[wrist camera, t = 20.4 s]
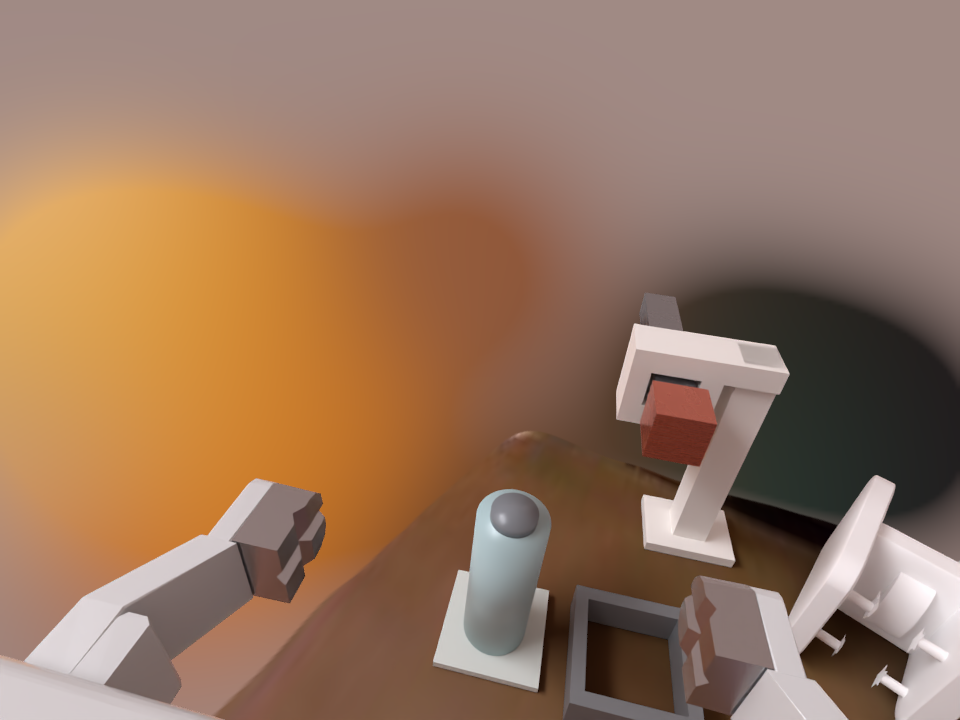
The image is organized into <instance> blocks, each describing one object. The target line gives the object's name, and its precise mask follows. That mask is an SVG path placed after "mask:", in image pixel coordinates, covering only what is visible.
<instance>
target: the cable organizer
mask: <svg viewBox="0 0 960 720" xmlns="http://www.w3.org/2000/svg"><path fill="white" fill-rule="evenodd" d="M894 491H895V484H894V483H892V482H890V481H888V480H886V479H884V478H881V477H879V476H877V475H876V476H874V477H873V478H872V479H871V480H870V481H869V482H868V483H867V485H866V486H865V488H864V489H863V490H862V492H861V493H860V495H859V496H858V497H857V499H856V500H855V502H854V503H853V505H852V506H851V508H850V509H849V511H848V512H847V513H846V515H845V516H844V518H843V519H842V521H841V522H840V523H839V525H838V526H837V528H836V529H835V531H834V532H833V534H832V535H831V536H830V538H829V539H828V541H827V542H826V544H825V545H824V547H823V549H822V550H821V552H820V554H819V556H818V558H817V560H816V562H815V564H814V566H813V568H812V570H811V572H810V575H809V577H808V579H807V581H806V583H805V585H804V587H803V589H802V591H801V593H800V595H799V597H798V599H797V601H796V603H795V605H794V607H793V609H792V611H791V613H790V615H789V617H788V618H789V621H790V625H791V628H792V631H793V635H794V638H795V641H796V644H797V648H798V651H799V654H800V653H802V652H803V651H804V650H805V648H806V647H807V646H808V645H809V643H810V642H811V641H812V640H813V638H814V637H815V636H816V637H817V638H819V639H820V640H821V641H823V642H824V643H826V644H827V645H829V646H830V647H832V648H833V649H835V651H834V653H833V654H835V653H836V654H837V652H838V651H839V650H840V649H841V647H842V646H843V644H844V642H845V640H844V639H845V636H846V635H845V636H844V638H843V639H842V641H841V642H840V641H839V640H837V639H836V638H834V637H833V636H831V635H830V634H828V633H827V632H825V631H824V630H822V629H821V628H822V627H823V626H824V625H825V623H826V622H827V621H828V620H829V618H830V617H831V616H832V615H833V613H834V612H835V611H836V610H837V609H839V610H841V611H842V612H844V613H845V614H847V615H848V616H850V617H852V618H853V619H855V620H856V621H858V622H860V623H861V624H863V625H864V626H866V627H867V628H869V629H871V630H872V631H874V632H875V633H877V634H878V635H880V636H882V637H883V638H885V639H886V640H888V641H890V642H891V643H893V644H894V645H896V646H897V647H899V648H901V649H902V650H904V651H905V652H907V653H909V657H908V661H907V665H906V669H905V672H904V676H903V680H902V684H901V683H899V682H898V681H896V680H895V679H893V678H892V677H890V676H888V675H887V674H886V673H887V672H888V671H885V669H886V667H887V665H886V666H885V668H884V669H883V670H882V671H881V672H880V673H879V674H877V677H876V679H875V681H874V683H873V685H872V687H873V686H874V685H875V684H877V686H878V684H879V682H880V683H882V684H883V685H885V686H886V687H888V688H889V689H891V690H892V691H894V692H895V693H897V694H898V699H897V703H896V708H895V719H896V720H958V719H959V718H960V561H959V562H956V561H954V560H952V559H950V558H949V557H947V556H945V555H943V553H942V554H941V553H939V552H937V551H935V550H933V549H932V548H930V547H928V546H926V545H924V544H922V543H920V542H918V541H917V540H915V539H913V538H911V537H909V536H907V535H905V534H903V533H901V532H899V531H898V530H896V529H894V528H892V527H890V526H888V525H886V524H884V523H882V522H883V519H884V517H885V514H886V512H887V509H888V507H889V504H890V502H891V499H892V497H893V494H894ZM833 654H832V655H833Z"/></svg>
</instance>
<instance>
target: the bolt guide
mask: <svg viewBox="0 0 960 720" xmlns="http://www.w3.org/2000/svg"><path fill="white" fill-rule="evenodd" d="M651 373H654V374H660V375H666V376H672V377H678V378H684V379H690V380H694V381H695V386H696V388H701V389H707V390H709V394H710V398H711V402H712V406H713V409H714V413H715V417H716V421H717V427H716V429H715V431H714V434H713V436H712V438H711V441H710V443H709V446H708V448H707V450H706V453H705V455H704V457H703V460H702V462H701V465H700V467H698V466H692V465H688V466H687V469H686V471H685V474H684V476H683V479H682V481H681V484H680V486H679V489H678V491H677V494H676V496H675V498H674V501H673V500H668V499H663V498H658V497H653V496H648V495H643V497H642V500H641V506H642V523H643V539H644V549H647V550H652V551H657V552H661V553H666V554H671V555H675V556H680V557H685V558H689V559H694V560H699V561H703V562H708V563H713V564H717V565H722V566H727V567H731V568H732V566H733V564H734V562H735V558H734V554H733V549H732V545H731V540H730V536H729V532H728V527H727V523H726V518H725V514H724V511H723V510H720V509H721V507H722V505H723V503H724V501H725V499H726V497H727V495H728V493H729V491H730V488H731V486H732V484H733V482H734V480H735V478H736V476H737V474H738V472H739V470H740V468H741V466H742V464H743V462H744V459H745V457H746V455H747V453H748V451H749V449H750V447H751V445H752V443H753V441H754V439H755V437H756V434H757V433H758V431H759V428H760V426H761V424H762V422H763V420H764V418H765V416H766V414H767V412H768V410H769V408H770V406H771V404H772V401H773V399H774V397H775V395H776V394H780V393H781V390H782V388H783V386H784V384H785V382H786V380H787V378H788V376H789V372H788V370H787V368H786V366H785V364H784V362H783V360H782V358H781V356H780V354H779V352H778V350H777V348H776V346H773V345H767V344H761V343H754V342H748V341H742V340H735V339H729V338H722V337H715V336H710V335H703V334H697V333H690V332H684V331H678V330H671V329H665V328H659V327H652V326H646V325H639V324H634V327H633V331H632V334H631V338H630V342H629V346H628V349H627V353H626V357H625V361H624V364H623V368H622V372H621V376H620V379H619V383H618V387H617V391H616V402H617V403H616V405H617V406H616V407H617V419H618V420H623V421H628V422H633V423H639V424H640V420H641V417H642V413H643V410H644V407H645V404H646V400H647V386H648V383H649V379H650V376H651Z"/></svg>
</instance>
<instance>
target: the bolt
mask: <svg viewBox="0 0 960 720" xmlns="http://www.w3.org/2000/svg"><path fill="white" fill-rule="evenodd" d="M640 323H641V325H646V326H652V327H659V328H665V329H671V330H678V331H683V329H682V324H681V320H680V316H679V311H678V307H677V302H676V298H675V297H670V296H663V295H657V294H650V293H645V295H644V299H643V303H642V306H641V310H640ZM640 427H641V441H642V455H643V456H645V457H650V458H656V459H661V460H667V461H672V462H677V463H682V464H688V465H692V466H698V467H700V465H701V462H702V460H703V457H704V455H705V453H706V450H707V448H708V446H709V443H710V441H711V438H712V436H713V434H714V431H715V429H716V427H717V421H716V417H715V413H714V409H713V406H712V402H711V398H710V394H709V390H707V389H701V388H696V386H695V381H694V380H690V379H684V378H678V377H672V376H666V375H660V374H654V373H651V376H650V379H649V383H648V386H647V400H646V404H645V407H644V410H643V413H642V417H641V420H640Z"/></svg>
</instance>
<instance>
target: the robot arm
mask: <svg viewBox="0 0 960 720" xmlns="http://www.w3.org/2000/svg"><path fill="white" fill-rule="evenodd" d="M322 504H323V502H322V498H321V494H319V493H316V492H311V491H307V490H303V489H299V488H295V487H291V486H287V485H283V484H279V483H275V482H270V481H266V480H261V479H255V480H253V481H252V482H250V483H249V484H248V485H247V486H246V487H245V489H244V490H243V491H242V493H241V494H240V495H239V497H238V498H237V499H236V500H235V501H234V503H233V504H232V505H231V506H230V508H229V509H228V511H227V512H226V513H225V514H224V515H223V517H222V518H221V519H220V520H219V522H218V523H217V524H216V525H215V527H214V528H213V529H212V531H211V532H210V533H209V534H208V536H206V535H199V536H197V537H196V538H194V539H192V540H190V541H188V542H186V543H184V544H182V545H180V546H179V547H177V548H175V549H173V550H171V551H169V552H167V553H165V554H163V555H162V556H160V557H158V558H156V559H154V560H152V561H150V562H148V563H146V564H144V565H143V566H141V567H139V568H137V569H135V570H133V571H131V572H129V573H128V574H126V575H124V576H122V577H120V578H118V579H116V580H114V581H112V582H111V583H109V584H107V585H105V586H103V587H101V588H100V589H97V590H95V591H94V592H92V593H90V594H88V595H86V596H84V597H83V598H82V599H81V600H80V601H79V602H78V603H77V604H76V605H75V606H74V607H73V608H72V610H71V611H70V612H69V613H68V614H67V615H66V616H65V617H64V618H63V619H62V620H61V621H60V622H59V624H58V625H57V626H56V627H55V628H54V629H53V630H52V631H51V632H50V633H49V634H48V635H47V637H46V638H45V639H44V640H43V641H42V642H41V643H40V645H38V646H37V647H36V649H35V650H34V651H33V652H32V653H31V654H30V655H29V656H28V657H27V658H26V660H25V661H24V662H23V661H20V660H16V659H13V658H9V657H6V656H3V655H0V720H223V719H220V718H217V717H213V716H210V715H206V714H203V713H199V712H196V711H192V710H189V709H185V708H182V707H179V706H175V705H172V704H171V702H172V701H173V699H174V697H175V696H176V694H177V693H178V691H179V690H180V688H181V679H180V677H179V675H178V673H177V671H176V669H175V667H174V666H173V664H172V662H171V660H172V659H173V658H175V657H176V656H177V655H179V654H180V653H181V652H183V651H184V650H185V649H187V648H188V647H189V646H190V645H192V644H193V643H194V642H196V641H197V640H198V639H200V638H201V637H202V636H203V635H205V634H206V633H208V632H209V631H210V630H211V629H213V628H214V627H215V626H217V625H218V624H219V623H221V622H222V621H223V620H225V619H226V618H227V617H229V616H230V615H231V614H232V613H234V612H235V611H236V610H238V609H239V608H240V607H242V606H243V605H244V604H246V603H247V602H248V601H250V600H251V599H252V598H253V595H254V596H259V597H263V598H268V599H272V600H277V601H281V602H287V603H290V602H291V600H292V599H293V597H294V595H295V593H296V591H297V590H298V588H299V586H300V584H301V582H302V581H303V579H304V577H305V573H304V567H303V566H304V565H305V564H307V563H308V562H310V561H312V560H313V559H315V557H316V555H317V553H318V551H319V550H320V547H321V545H322V541H323V539H324V535H325V528H326V522H325V517H324V516H323V515H322V513H321V512H320V511H319V509H320V508H321V506H322ZM691 588H692V595H691V596H689V597H686V598H685V599H684V601H683V603H682V606H681V608H680V614H679V620H678V636H679V645H680V647H681V648H682V650H683V651H684V652H685V654H686V655H687V659H686V661H685V663H684V665H683V667H682V674H683V682H684V691H685V699H686V703H687V704H691V705H695V706H698V707H702V708H705V709H709V710H712V711H716V712H720V713H723V714H727V715H730V716H732V717H731V719H732V720H848V719H847V718H846V716H845V715H844V714H843V713H842V712H841V710H840V709H839V708H838V707H837V706H836V705H835V703H834V702H833V701H832V700H831V699H830V698H829V696H828V695H827V694H826V693H825V692H824V690H823V689H822V688H821V687H820V686H819V685H818V683H817V682H816V681H814V680H811V679H807V677H806V674H805V671H804V667H803V664H802V661H801V658H800V654H799V651H798V648H797V644H796V641H795V638H794V635H793V631H792V628H791V625H790V621H789V618H788V615H787V611H786V608H785V605H784V602H783V598H782V597H781V596H780V594H779V593H777V592H774V591H769V590H764V589H759V588H754V587H749V586H748V585H744V584H739V583H734V582H729V581H724V580H719V579H714V578H709V577H704V576H697V577H696V578H695V579H694V581H693V583H692V585H691Z"/></svg>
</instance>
